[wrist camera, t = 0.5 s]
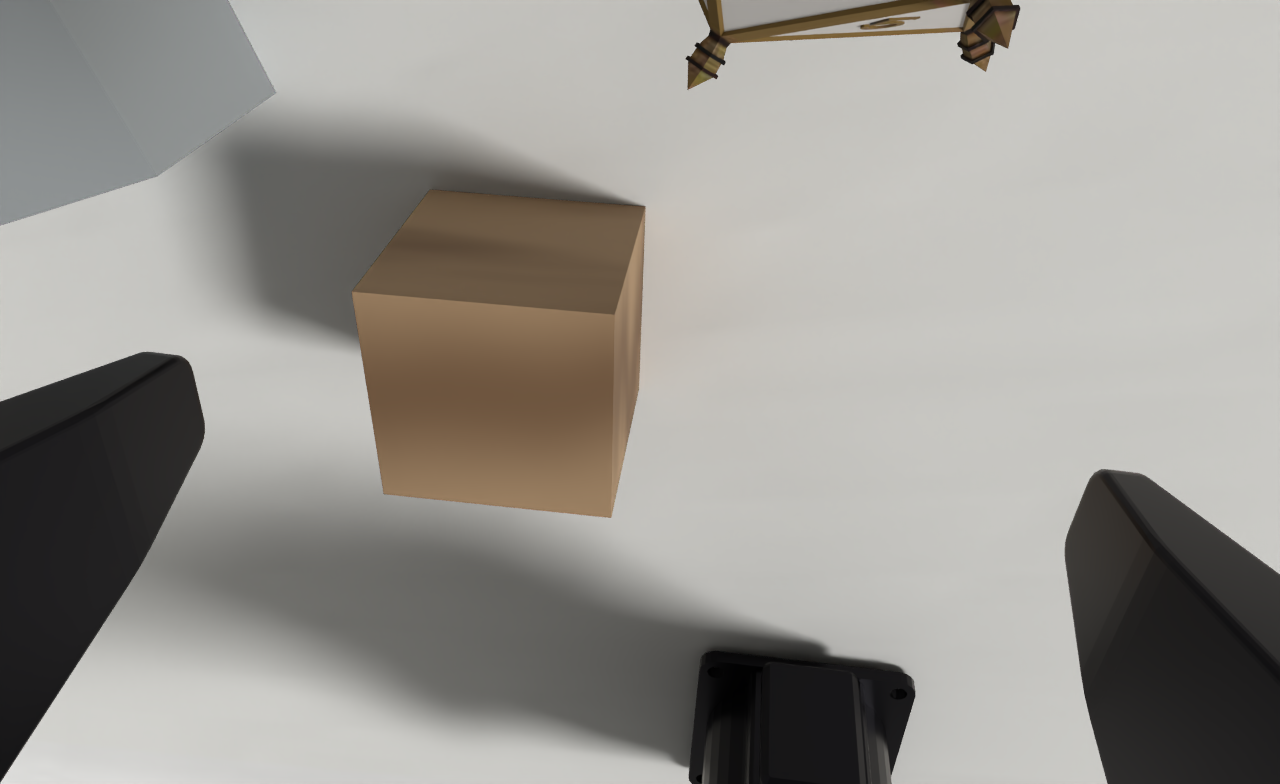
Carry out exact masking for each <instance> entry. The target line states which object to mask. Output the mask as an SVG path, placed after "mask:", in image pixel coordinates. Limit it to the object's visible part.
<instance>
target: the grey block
mask: <svg viewBox="0 0 1280 784" xmlns="http://www.w3.org/2000/svg"><path fill="white" fill-rule="evenodd" d="M275 93H276V91H275V89H274V87H273V85H272V84H271V82H270V80H269V78H268V76H267V74H266V72H265V70H264V68H263V66H262V64H261V62H260V60H259V59H258V57H257V55H256V53H255V51H254V49H253V47H252V45H251V43H250V41H249V39H248V37H247V36H246V34H245V32H244V30H243V28H242V26H241V24H240V22H239V20H238V18H237V16H236V14H235V12H234V11H233V9H232V7H231V5H230V3H229V1H228V0H0V226H1V225H4V224H7V223H10V222H13V221H17V220H20V219H23V218H26V217H29V216H32V215H36V214H39V213H42V212H45V211H48V210H52V209H55V208H58V207H61V206H64V205H67V204H71V203H74V202H77V201H80V200H83V199H87V198H90V197H93V196H96V195H99V194H102V193H106V192H109V191H112V190H115V189H118V188H122V187H125V186H128V185H131V184H134V183H138V182H141V181H144V180H147V179H150V178H153V177H157V176H158V175H160V174H161V173H163V172H164V171H166V170H167V169H168V168H170V167H171V166H173V165H174V164H176V163H177V162H178V161H180V160H181V159H183V158H184V157H185V156H187V155H188V154H190V153H191V152H193V151H194V150H195V149H197V148H198V147H200V146H201V145H203V144H204V143H205V142H207V141H208V140H210V139H211V138H213V137H214V136H215V135H217V134H218V133H220V132H221V131H222V130H224V129H225V128H227V127H228V126H230V125H231V124H232V123H234V122H235V121H237V120H238V119H240V118H241V117H242V116H244V115H245V114H247V113H248V112H250V111H251V110H252V109H254V108H255V107H257V106H258V105H259V104H261V103H262V102H264V101H265V100H267V99H268V98H269V97H271V96H272V95H274V94H275Z"/></svg>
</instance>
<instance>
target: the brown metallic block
mask: <svg viewBox="0 0 1280 784" xmlns="http://www.w3.org/2000/svg"><path fill="white" fill-rule="evenodd" d="M644 234H645V207H644V206H631V205H619V204H606V203H593V202H581V201H568V200H555V199H543V198H530V197H517V196H504V195H492V194H479V193H466V192H454V191H441V190H429V191H428V193H427V194H426V195H425V197H424V198H423V199H422V201H421V202H420V203H419V205H418V206H417V207H416V208H415V210H414V211H413V212H412V214H411V215H410V216H409V218H408V219H407V220H406V221H405V223H404V224H403V225H402V227H401V228H400V229H399V231H398V232H397V233H396V235H395V236H394V237H393V238H392V240H391V241H390V242H389V244H388V245H387V246H386V248H385V249H384V250H383V251H382V253H381V254H380V255H379V257H378V258H377V259H376V261H375V262H374V263H373V265H372V266H371V267H370V268H369V270H368V271H367V272H366V274H365V275H364V276H363V278H362V279H361V280H360V281H359V283H358V284H357V285H356V287H355V288H354V289H353V291H352V297H353V304H354V310H355V316H356V322H357V329H358V335H359V341H360V348H361V354H362V360H363V366H364V373H365V379H366V385H367V391H368V398H369V404H370V410H371V416H372V423H373V429H374V435H375V441H376V448H377V454H378V460H379V466H380V473H381V479H382V485H383V492H384V494H388V495H398V496H408V497H417V498H427V499H436V500H446V501H455V502H465V503H474V504H484V505H493V506H503V507H513V508H522V509H532V510H541V511H551V512H560V513H570V514H579V515H589V516H598V517H608V518H611V516H612V511H613V507H614V502H615V498H616V493H617V488H618V484H619V479H620V474H621V470H622V465H623V460H624V456H625V451H626V446H627V442H628V437H629V433H630V428H631V423H632V419H633V414H634V409H635V405H636V400H637V395H638V391H639V372H640V344H641V317H642V289H643V262H644Z"/></svg>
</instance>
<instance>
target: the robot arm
mask: <svg viewBox="0 0 1280 784" xmlns="http://www.w3.org/2000/svg"><path fill="white" fill-rule="evenodd" d="M204 433H205V423H204V417H203V413H202V409H201V404H200V400H199V396H198V391H197V387H196V383H195V378H194V374H193V370H192V367H191V365H190V364H189V362H188V361H187V360H186V359H185V358H183V357H182V356H179V355H171V354H163V353H155V352H141V353H138V354H135V355H132V356H129V357H127V358H124V359H121V360H118V361H115V362H112V363H109V364H107V365H104V366H101V367H98V368H95V369H92V370H89V371H87V372H84V373H81V374H78V375H75V376H72V377H69V378H67V379H64V380H61V381H58V382H55V383H52V384H49V385H47V386H44V387H41V388H38V389H35V390H32V391H29V392H27V393H24V394H21V395H18V396H15V397H12V398H10V399H7V400H4V401H1V402H0V782H1V781H2V779H3V778H4V776H5V775H6V773H7V772H8V770H9V769H10V767H11V765H12V764H13V762H14V761H15V759H16V758H17V756H18V755H19V753H20V752H21V750H22V749H23V747H24V745H25V744H26V742H27V741H28V739H29V738H30V736H31V735H32V733H33V732H34V730H35V729H36V727H37V725H38V724H39V722H40V721H41V719H42V718H43V716H44V715H45V713H46V712H47V710H48V709H49V707H50V705H51V704H52V702H53V701H54V699H55V698H56V696H57V695H58V693H59V692H60V690H61V689H62V687H63V685H64V684H65V682H66V681H67V679H68V678H69V676H70V675H71V673H72V672H73V670H74V669H75V667H76V665H77V664H78V662H79V661H80V659H81V658H82V656H83V655H84V653H85V652H86V650H87V649H88V647H89V645H90V644H91V642H92V641H93V639H94V638H95V636H96V635H97V633H98V632H99V630H100V628H101V627H102V625H103V624H104V622H105V621H106V619H107V618H108V616H109V615H110V613H111V612H112V610H113V608H114V607H115V605H116V604H117V602H118V601H119V599H120V598H121V596H122V595H123V593H124V592H125V590H126V588H127V587H128V585H129V584H130V582H131V580H132V579H133V577H134V576H135V574H136V572H137V571H138V569H139V567H140V566H141V564H142V562H143V560H144V558H145V557H146V555H147V553H148V551H149V549H150V548H151V546H152V544H153V542H154V540H155V538H156V536H157V534H158V532H159V530H160V528H161V526H162V524H163V522H164V520H165V518H166V516H167V514H168V512H169V510H170V508H171V506H172V504H173V502H174V500H175V498H176V496H177V494H178V492H179V490H180V488H181V486H182V484H183V482H184V480H185V478H186V476H187V474H188V472H189V470H190V468H191V466H192V464H193V462H194V460H195V458H196V456H197V454H198V452H199V450H200V448H201V445H202V442H203V439H204ZM1065 563H1066V570H1067V577H1068V584H1069V591H1070V598H1071V606H1072V613H1073V620H1074V627H1075V634H1076V641H1077V648H1078V656H1079V663H1080V670H1081V677H1082V682H1083V688H1084V694H1085V699H1086V703H1087V707H1088V712H1089V716H1090V720H1091V724H1092V728H1093V731H1094V735H1095V739H1096V742H1097V746H1098V750H1099V754H1100V757H1101V761H1102V765H1103V768H1104V772H1105V776H1106V780H1107V783H1108V784H1280V574H1279V573H1277V572H1276V571H1274V570H1273V569H1272V568H1270V567H1269V566H1268V565H1266V564H1265V563H1264V562H1262V561H1261V560H1259V559H1258V558H1257V557H1255V556H1254V555H1253V554H1251V553H1250V552H1249V551H1247V550H1246V549H1244V548H1243V547H1242V546H1240V545H1239V544H1238V543H1236V542H1235V541H1234V540H1232V539H1231V538H1230V537H1228V536H1227V535H1225V534H1224V533H1223V532H1221V531H1220V530H1219V529H1217V528H1216V527H1215V526H1213V525H1212V524H1210V523H1209V522H1208V521H1206V520H1205V519H1204V518H1202V517H1201V516H1200V515H1198V514H1197V513H1196V512H1194V511H1193V510H1191V509H1190V508H1189V507H1187V506H1186V505H1185V504H1183V503H1182V502H1181V501H1179V500H1178V499H1177V498H1175V497H1174V496H1172V495H1171V494H1170V493H1168V492H1167V491H1166V490H1164V489H1163V488H1162V487H1160V486H1159V485H1157V484H1156V483H1155V482H1153V481H1152V480H1151V479H1149V478H1148V477H1146V476H1145V475H1142V474H1139V473H1133V472H1125V471H1116V470H1108V469H1101V470H1099V471H1097V472H1095V473H1094V474H1093V476H1092V477H1091V478H1090V480H1089V482H1088V484H1087V486H1086V489H1085V491H1084V494H1083V496H1082V499H1081V501H1080V504H1079V506H1078V509H1077V511H1076V513H1075V516H1074V518H1073V521H1072V523H1071V526H1070V528H1069V531H1068V534H1067V537H1066V542H1065ZM716 667H717V668H716ZM914 699H915V686H914V681H913V679H912V678H911V677H910V676H909V675H907V674H904V673H900V672H891V671H883V670H874V669H866V668H857V667H849V666H840V665H831V664H823V663H814V662H806V661H797V660H789V659H780V658H772V657H763V656H755V655H746V654H737V653H729V652H720V651H711V652H708V653H705V654H704V655H703V656H702V657H701V660H700V669H699V679H698V689H697V699H696V709H695V718H694V728H693V738H692V748H691V758H690V768H689V781H690V782H691V783H692V784H892V783H891V775H892V771H893V768H894V765H895V762H896V758H897V755H898V752H899V748H900V745H901V742H902V738H903V735H904V732H905V729H906V725H907V722H908V719H909V715H910V712H911V709H912V705H913V702H914Z"/></svg>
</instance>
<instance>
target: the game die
mask: <svg viewBox="0 0 1280 784" xmlns="http://www.w3.org/2000/svg"><path fill="white" fill-rule="evenodd" d="M699 3H700V5H701V8H702V10H703V12H704V15H705V17H706V20H707V22H708V24H709V27H710V33H709V36H708V37H707V38H706V39H704V40H703V41H702V42H701V43H696V44H695V47H697V48H696V50H695V51H694V53H693V54H692V56H691V57H690V56H687V57H686V60H688V89H690V88H692V87H694V86H696V85H699V84H701V83H703V82H705V81H707V80H709V79H711V78H715V79H717V77H718V75H717V74H716V72H717V71H718V69H719V67H720V65H721V64H723V65H724V64H725V63H726V62H725V61H724V60H723V59H724V55H725V52H726V48H727V47H728V46H729V45H730V43H742V42H762V41H782V40H803V39H823V38H843V37H863V36H884V35H904V34H924V33H945V32H961V34H960V41H959V42H958V43H957V45H958V47H960V48H962V51H963V54H962V55H961V59H963V60H965V61H967V62H969V63H971V64H975V65H976V66H978V67H979V68H981V69H982V70H984V71H985V72H986V69H987V66H988V62H989V59H990V56H991V55H993V54H994V47H995V43H997V44H999V45H1001V46H1003V47H1005V48H1008V46H1009V42H1010V37H1011V32H1012V30H1014V29H1015V26H1016V22H1017V18H1018V15H1019V11H1020V6H1019V5H1013V4H1012V2H1011V0H699Z"/></svg>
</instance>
